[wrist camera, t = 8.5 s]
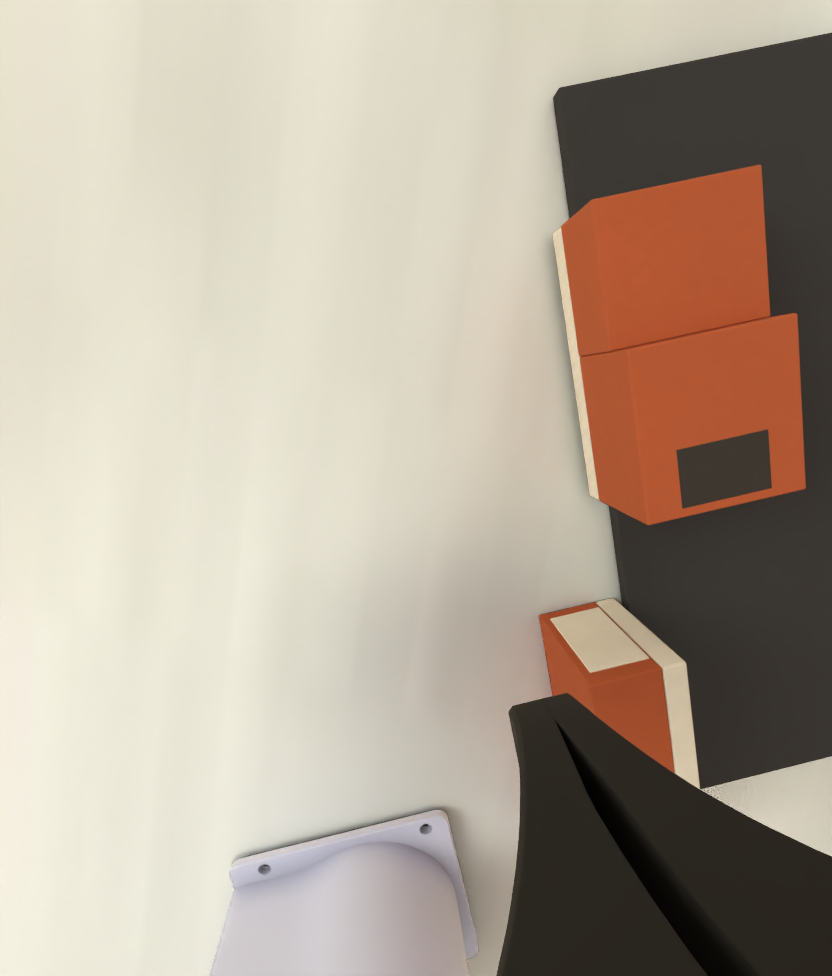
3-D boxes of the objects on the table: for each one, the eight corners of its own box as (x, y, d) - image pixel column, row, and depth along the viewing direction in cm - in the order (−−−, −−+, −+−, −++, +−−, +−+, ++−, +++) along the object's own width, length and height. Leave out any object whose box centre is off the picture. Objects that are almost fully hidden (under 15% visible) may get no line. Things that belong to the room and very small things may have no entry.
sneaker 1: (549, 809, 22) (598, 928, 18) (513, 618, 20) (557, 692, 16) (639, 786, 23) (713, 898, 18) (613, 595, 21) (688, 661, 16)
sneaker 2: (647, 526, 15) (808, 489, 15) (606, 182, 13) (792, 143, 13) (589, 496, 19) (716, 467, 19) (551, 231, 17) (693, 201, 17)
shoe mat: (647, 790, 23) (655, 802, 22) (552, 97, 17) (559, 85, 16) (877, 733, 23) (892, 742, 22) (863, 34, 17) (881, 20, 17)
